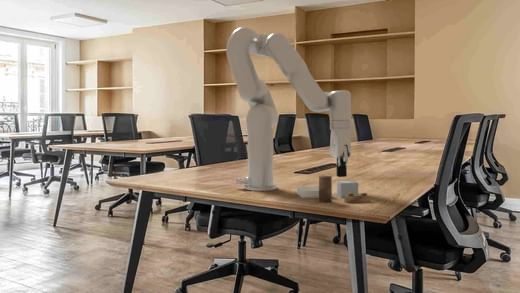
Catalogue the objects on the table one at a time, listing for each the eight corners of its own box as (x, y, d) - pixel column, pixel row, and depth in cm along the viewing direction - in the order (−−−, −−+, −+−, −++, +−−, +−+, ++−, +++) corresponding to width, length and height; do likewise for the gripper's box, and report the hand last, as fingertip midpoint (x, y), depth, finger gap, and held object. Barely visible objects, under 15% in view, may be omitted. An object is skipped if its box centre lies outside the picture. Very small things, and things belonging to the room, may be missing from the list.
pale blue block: (340, 197, 143) (341, 183, 142) (337, 195, 146) (337, 181, 146) (358, 197, 143) (358, 182, 143) (353, 195, 147) (354, 180, 147)
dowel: (320, 202, 134) (321, 177, 134) (317, 200, 138) (317, 175, 138) (333, 202, 135) (333, 177, 134) (329, 199, 139) (329, 175, 138)
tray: (303, 198, 141) (303, 191, 141) (296, 193, 150) (296, 186, 150) (331, 197, 142) (332, 190, 142) (323, 192, 152) (323, 185, 152)
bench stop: (346, 202, 134) (346, 194, 134) (344, 201, 136) (344, 193, 136) (370, 201, 136) (370, 193, 135) (367, 200, 138) (368, 192, 137)
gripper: (324, 125, 159) (325, 174, 160) (337, 126, 144) (338, 180, 145) (343, 124, 160) (344, 173, 161) (358, 125, 145) (359, 178, 146)
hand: (341, 176), depth 153 cm, fingers closed
